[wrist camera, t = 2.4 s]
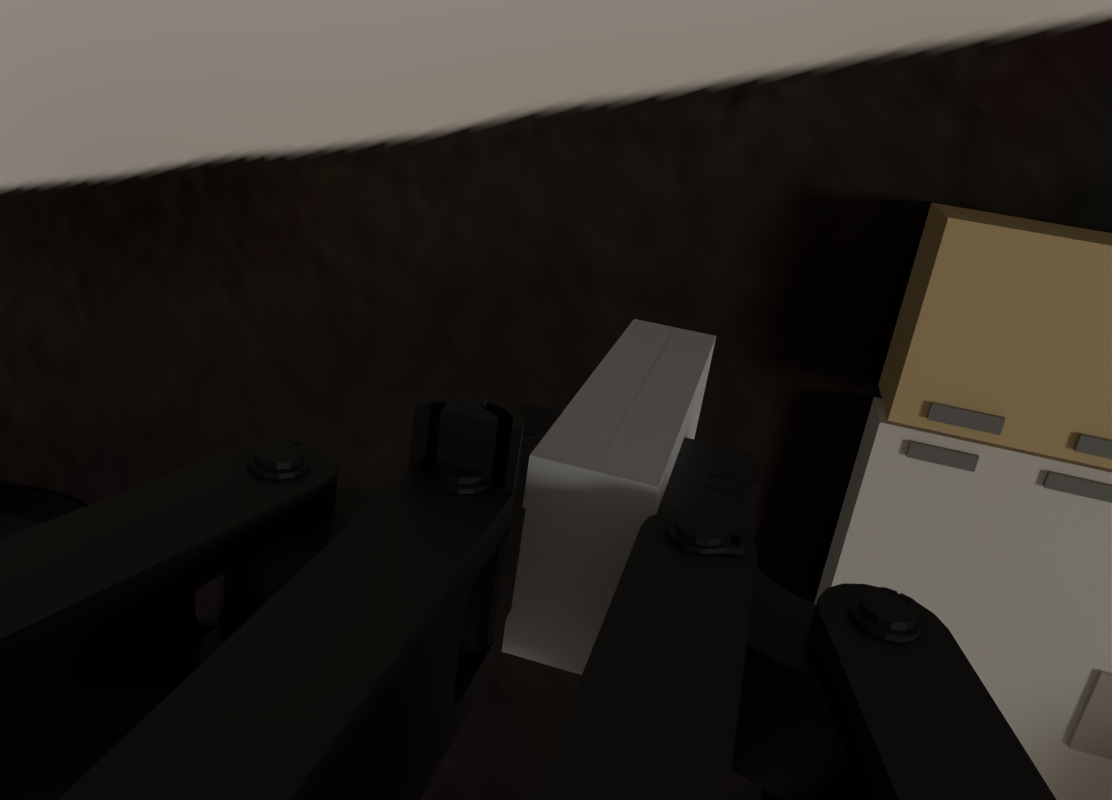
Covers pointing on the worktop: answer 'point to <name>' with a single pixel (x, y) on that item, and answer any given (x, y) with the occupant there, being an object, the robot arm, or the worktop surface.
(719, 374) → the worktop surface
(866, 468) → the flat white box
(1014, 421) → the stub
